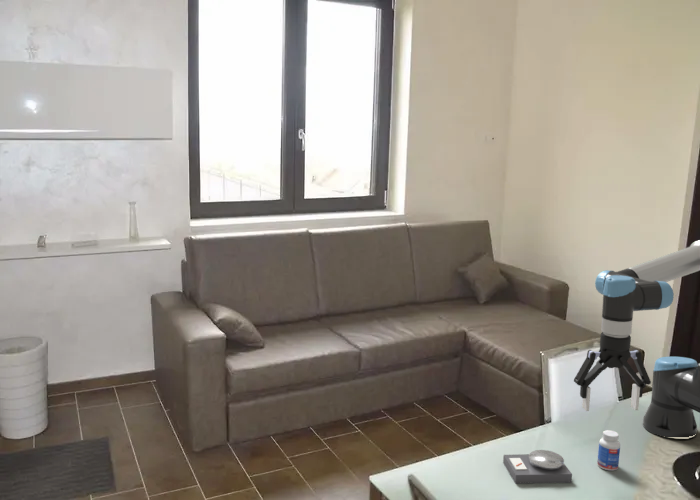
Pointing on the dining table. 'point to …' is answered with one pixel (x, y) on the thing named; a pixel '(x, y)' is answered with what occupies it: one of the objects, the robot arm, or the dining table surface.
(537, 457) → the pan
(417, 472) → the dining table surface
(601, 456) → the pill bottle
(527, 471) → the scale base
